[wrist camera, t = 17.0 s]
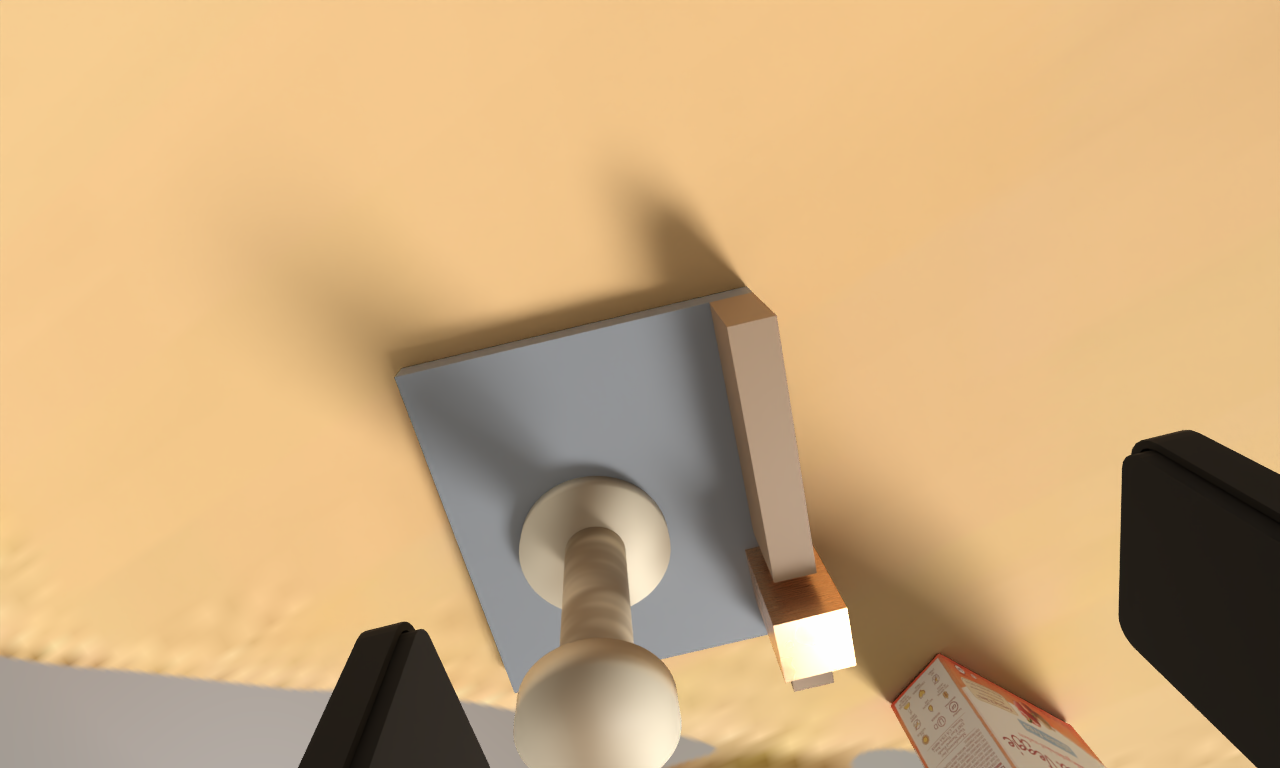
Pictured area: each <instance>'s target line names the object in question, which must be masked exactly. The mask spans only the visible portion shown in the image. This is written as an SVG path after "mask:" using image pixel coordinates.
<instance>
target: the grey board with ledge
mask: <svg viewBox="0 0 1280 768" xmlns="http://www.w3.org/2000/svg"><path fill="white" fill-rule="evenodd" d="M394 378H395V380H396V383H397V386H398V388H399V391H400V394H401V396H402V399H403V401H404V404H405V407H406V409H407V412H408V415H409V417H410V420H411V422H412V425H413V428H414V430H415V433H416V435H417V438H418V441H419V443H420V446H421V449H422V451H423V454H424V456H425V459H426V462H427V464H428V467H429V470H430V472H431V475H432V477H433V480H434V483H435V485H436V488H437V491H438V493H439V496H440V498H441V501H442V504H443V506H444V509H445V512H446V514H447V517H448V519H449V522H450V525H451V527H452V530H453V533H454V535H455V538H456V540H457V543H458V546H459V548H460V551H461V553H462V556H463V559H464V561H465V564H466V567H467V569H468V572H469V574H470V577H471V580H472V582H473V585H474V588H475V590H476V593H477V595H478V598H479V601H480V603H481V606H482V609H483V611H484V614H485V616H486V619H487V622H488V624H489V627H490V630H491V632H492V635H493V637H494V640H495V643H496V645H497V648H498V651H499V653H500V656H501V658H502V661H503V664H504V666H505V669H506V671H507V674H508V677H509V679H510V682H511V685H512V687H513V690H514V692H515V693H518V692H519V688H520V685H521V683H522V680H523V679H524V677H525V675H526V674H527V672H528V671H529V670H530V668H531V667H532V666H533V665H534V664H535V663H536V662H537V661H538V660H539V659H540V658H542V657H543V656H544V655H546V654H547V653H549V652H551V651H552V650H554V649H556V648H558V647H560V632H561V614H562V609H560V608H558V607H556V606H554V605H552V604H550V603H549V602H547V601H546V600H544V599H543V598H542V597H541V596H539V595H538V594H537V593H536V592H535V591H534V590H533V588H532V587H531V586H530V585H529V583H528V581H527V580H526V578H525V576H524V574H523V571H522V568H521V565H520V559H519V544H520V538H521V532H522V527H523V524H524V521H525V518H526V516H527V514H528V513H529V511H530V509H531V508H532V506H533V505H534V504H535V502H536V501H537V500H538V499H539V498H540V497H541V496H542V495H544V494H545V493H546V492H547V491H549V490H550V489H552V488H554V487H555V486H557V485H559V484H561V483H563V482H566V481H569V480H572V479H575V478H580V477H586V476H607V477H613V478H617V479H621V480H624V481H627V482H629V483H631V484H633V485H635V486H637V487H639V488H640V489H642V490H643V491H644V492H646V493H647V494H648V495H649V496H650V497H651V498H652V499H653V500H654V501H655V502H656V503H657V505H658V506H659V508H660V509H661V511H662V513H663V515H664V517H665V520H666V523H667V528H668V533H669V538H670V546H671V553H670V560H669V564H668V567H667V570H666V572H665V574H664V576H663V578H662V579H661V581H660V583H659V584H658V585H657V586H656V588H655V589H654V590H653V591H652V592H651V593H650V594H649V595H648V596H646V597H645V598H644V599H642V600H641V601H639V602H638V603H636V604H634V605H632V606H631V617H632V628H633V640H634V644H636V645H639V646H641V647H643V648H645V649H647V650H648V651H650V652H651V653H653V654H654V655H656V656H657V657H658V658H659V659H664V658H669V657H673V656H677V655H682V654H686V653H690V652H694V651H699V650H703V649H707V648H712V647H716V646H720V645H725V644H729V643H733V642H738V641H742V640H746V639H751V638H755V637H759V636H764V635H768V633H767V630H766V627H765V624H764V621H763V619H762V616H761V613H760V610H759V608H758V605H757V602H756V598H755V594H754V589H753V585H752V580H751V576H750V571H749V567H748V562H747V558H746V553H745V550H746V549H750V548H754V547H758V546H759V547H760V549H761V552H762V554H763V557H764V559H765V562H766V564H767V566H768V569H769V571H770V574H771V576H772V579H773V581H774V583H777V582H781V581H785V580H789V579H794V578H798V577H802V576H807V575H811V574H815V573H817V571H816V564H815V558H814V551H813V545H812V539H811V532H810V526H809V520H808V513H807V507H806V500H805V494H804V488H803V481H802V475H801V468H800V462H799V456H798V449H797V443H796V436H795V430H794V424H793V417H792V411H791V405H790V398H789V392H788V385H787V379H786V373H785V366H784V360H783V353H782V347H781V341H780V334H779V328H778V321H777V315H776V314H775V313H773V312H772V311H771V310H770V309H769V308H768V307H767V306H766V305H765V304H764V303H763V302H762V301H761V300H760V299H759V298H758V297H757V296H756V295H755V294H754V293H753V292H752V291H751V290H750V289H749V288H748V287H747V286H746V287H742V288H737V289H733V290H729V291H725V292H721V293H716V294H712V295H708V296H704V297H700V298H695V299H691V300H687V301H683V302H679V303H674V304H670V305H666V306H662V307H658V308H653V309H649V310H645V311H641V312H637V313H632V314H628V315H624V316H620V317H616V318H611V319H607V320H603V321H599V322H595V323H590V324H586V325H582V326H578V327H574V328H569V329H565V330H561V331H557V332H553V333H548V334H544V335H540V336H536V337H532V338H527V339H523V340H519V341H515V342H511V343H506V344H502V345H498V346H494V347H490V348H485V349H481V350H477V351H473V352H469V353H464V354H460V355H456V356H452V357H448V358H443V359H439V360H435V361H431V362H427V363H422V364H418V365H414V366H410V367H406V368H401V370H400V371H399V372H398V373H397V375H396V376H395V377H394ZM830 683H834V679H833V673H832V671H831V672H827V673H823V674H819V675H815V676H811V677H807V678H803V679H798V680H794V681H791V684H792V686H793V689H794V692H795V691H800V690H804V689H808V688H813V687H817V686H821V685H826V684H830Z"/></svg>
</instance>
